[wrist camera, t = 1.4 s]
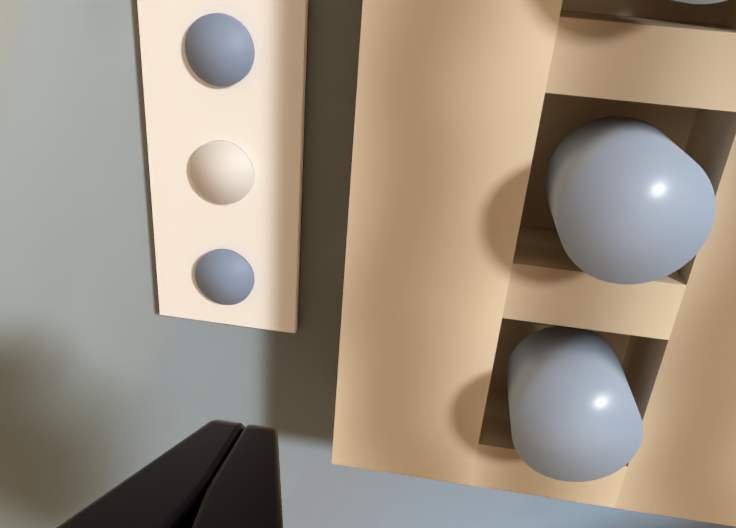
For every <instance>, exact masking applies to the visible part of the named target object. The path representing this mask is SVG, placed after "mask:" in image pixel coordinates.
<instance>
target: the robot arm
mask: <svg viewBox="0 0 736 528" xmlns="http://www.w3.org/2000/svg"><path fill="white" fill-rule="evenodd" d="M57 528H283V518H282V500H281V483H280V465H279V448H278V433H277V431H276V429H274V428H270V427H264V426H257V425H248V426H246V427H245V426H244V425H243V424H241V423H237V422H231V421H224V420H213V421H210V422H209V423H207V424H206V425H204V426H203V427H201V428H200V429H199V430H197V431H196V432H194V433H193V434H191V435H190V436H188V437H187V438H186V439H184V440H183V441H181V442H180V443H178V444H177V445H175V446H174V447H173V448H171V449H170V450H168V451H167V452H165V453H164V454H162V455H161V456H160V457H158V458H157V459H155V460H154V461H152V462H151V463H149V464H148V465H147V466H145V467H144V468H142V469H141V470H139V471H138V472H136V473H135V474H134V475H132V476H131V477H129V478H128V479H126V480H125V481H123V482H122V483H121V484H119V485H118V486H116V487H115V488H113V489H112V490H110V491H109V492H107V493H106V494H105V495H103V496H102V497H100V498H99V499H97V500H96V501H94V502H93V503H92V504H90V505H89V506H87V507H86V508H84V509H83V510H81V511H80V512H79V513H77V514H76V515H74V516H73V517H71V518H70V519H68V520H67V521H66V522H64V523H63V524H61V525H60V526H58V527H57Z"/></svg>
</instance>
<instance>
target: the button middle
mask: <svg viewBox="0 0 736 528" xmlns="http://www.w3.org/2000/svg"><path fill="white" fill-rule="evenodd" d="M545 194H546V198H547V202H548V205H549V208H550V211H551V214H552V217H553V220H554V223H555V225H556V228H557V231H558V234H559V237H560V240H561V243H562V246H563V248H564V250H565V252H566V253H567V255H568V256H569V258H570V259H571V260H572V261H573V262H574V264H575V265H576V266H578V267H579V268H580V269H581V270H582V271H584V272H585V273H587V274H589V275H590V276H592V277H595V278H597V279H599V280H602V281H605V282H609V283H615V284H625V285H629V284H641V283H647V282H651V281H655V280H658V279H660V278H663V277H665V276H667V275H669V274H671V273H673V272H675V271H677V270H678V269H680V268H681V267H683V266H684V265H685V264H686V263H688V262H689V261H690V260H691V259H692V258H693V257H694V256H695V255H696V254H697V253H698V252H699V250H700V249H701V248H702V246H703V245H704V243H705V242H706V240H707V238H708V236H709V234H710V232H711V229H712V227H713V223H714V219H715V211H716V201H715V194H714V190H713V187H712V184H711V182H710V180H709V178H708V176H707V174H706V173H705V172H704V170H703V169H702V168H701V167H700V165H698V164H697V163H696V162H695V161H694V160H693V159H692V158H691V157H690V156H688V155H687V154H686V153H685V152H684V151H683V150H682V149H680V148H679V147H678V146H677V145H676V144H675V143H674V142H673V141H671V140H670V139H669V138H668V137H667V136H666V135H665V134H663V133H662V132H661V131H660V130H659V129H658V128H656V127H655V126H653V125H652V124H650V123H648V122H646V121H644V120H641V119H637V118H634V117H628V116H609V117H604V118H599V119H596V120H593V121H590V122H588V123H586V124H584V125H582V126H580V127H578V128H577V129H575V130H574V131H573V132H571V133H570V134H569V135H568V136H566V137H565V139H564V140H563V141H562V142H561V143H560V144H559V145H558V147H557V148H556V149H555V151H554V153H553V154H552V156H551V158H550V160H549V163H548V166H547V169H546V173H545Z"/></svg>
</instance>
